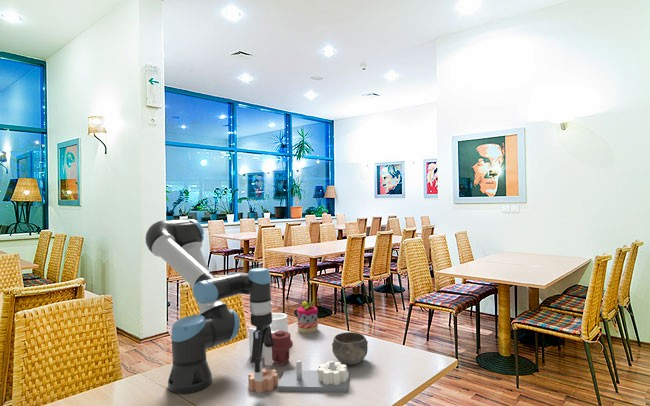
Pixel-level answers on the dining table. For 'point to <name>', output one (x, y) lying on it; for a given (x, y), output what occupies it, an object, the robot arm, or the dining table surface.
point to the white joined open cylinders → (277, 325)
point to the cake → (307, 318)
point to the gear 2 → (332, 373)
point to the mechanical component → (281, 347)
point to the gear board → (308, 380)
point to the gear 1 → (264, 381)
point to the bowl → (350, 347)
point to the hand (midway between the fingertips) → (263, 372)
